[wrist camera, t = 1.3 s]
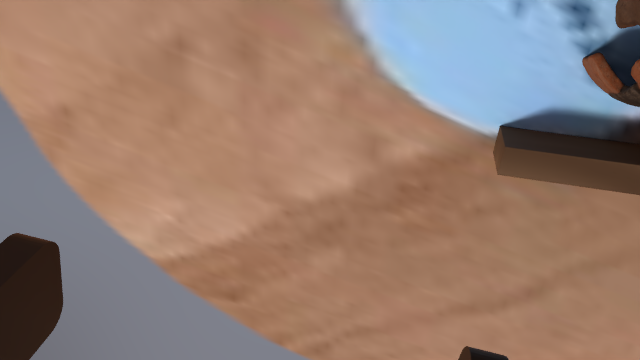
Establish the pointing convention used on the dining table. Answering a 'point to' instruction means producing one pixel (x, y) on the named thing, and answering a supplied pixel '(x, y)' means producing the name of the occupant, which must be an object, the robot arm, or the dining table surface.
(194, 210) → the dining table surface
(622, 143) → the bay
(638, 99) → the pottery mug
